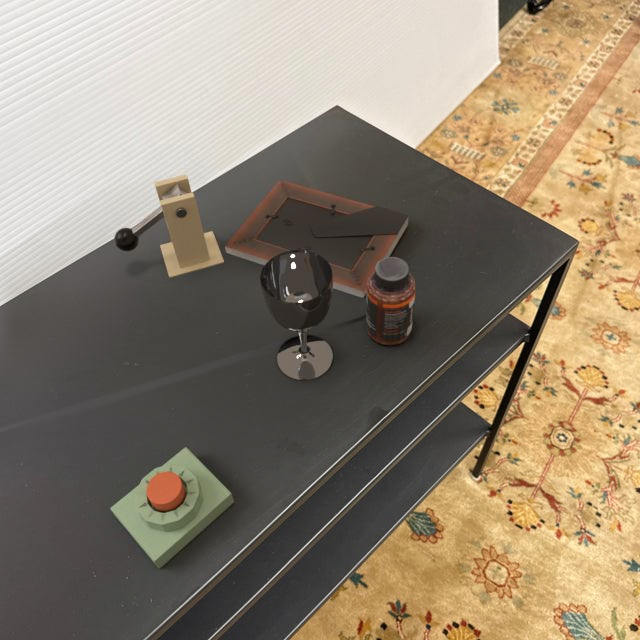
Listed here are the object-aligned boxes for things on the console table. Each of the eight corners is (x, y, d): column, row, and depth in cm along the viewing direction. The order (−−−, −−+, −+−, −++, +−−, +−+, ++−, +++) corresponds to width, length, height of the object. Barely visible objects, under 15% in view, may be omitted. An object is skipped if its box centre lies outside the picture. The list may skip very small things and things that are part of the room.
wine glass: (277, 387, 79) (263, 307, 67) (270, 337, 84) (256, 255, 73) (341, 377, 80) (338, 296, 68) (330, 328, 85) (326, 245, 73)
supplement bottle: (421, 333, 83) (428, 272, 75) (384, 355, 81) (388, 295, 73) (392, 305, 87) (396, 243, 78) (356, 325, 85) (356, 264, 76)
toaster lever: (128, 259, 88) (110, 247, 86) (124, 244, 90) (107, 232, 88) (195, 207, 86) (179, 193, 83) (190, 193, 88) (174, 179, 85)
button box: (159, 569, 65) (149, 555, 62) (115, 516, 69) (104, 500, 66) (234, 502, 70) (229, 485, 67) (189, 455, 74) (182, 438, 70)
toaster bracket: (171, 282, 91) (148, 213, 81) (161, 250, 96) (139, 181, 86) (225, 267, 93) (209, 197, 83) (214, 236, 97) (197, 166, 87)
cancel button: (164, 518, 65) (159, 511, 64) (143, 495, 67) (139, 487, 65) (192, 494, 67) (188, 487, 65) (171, 472, 68) (167, 464, 67)
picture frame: (407, 227, 96) (281, 191, 103) (408, 214, 94) (279, 178, 101) (362, 303, 87) (227, 257, 94) (363, 290, 85) (224, 245, 92)
